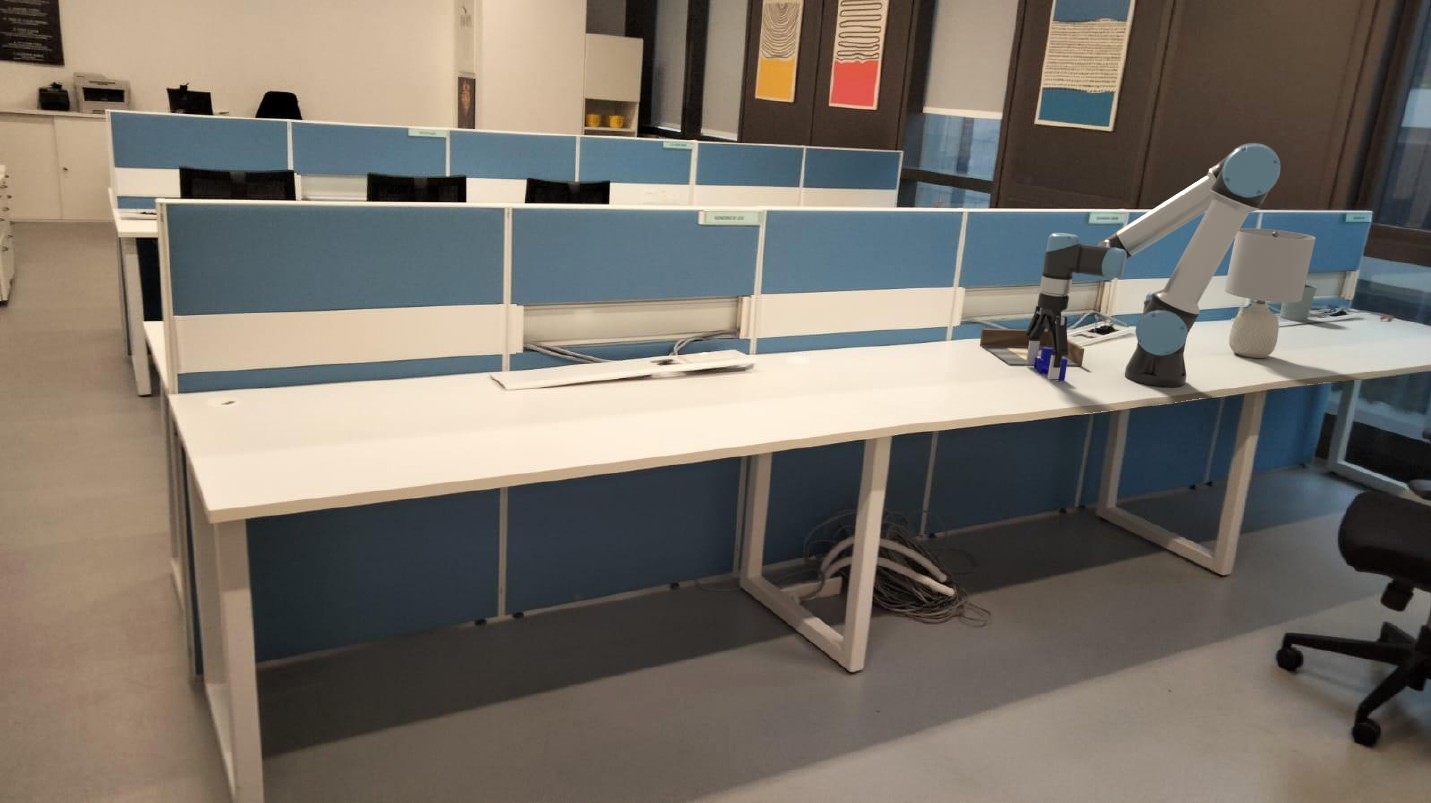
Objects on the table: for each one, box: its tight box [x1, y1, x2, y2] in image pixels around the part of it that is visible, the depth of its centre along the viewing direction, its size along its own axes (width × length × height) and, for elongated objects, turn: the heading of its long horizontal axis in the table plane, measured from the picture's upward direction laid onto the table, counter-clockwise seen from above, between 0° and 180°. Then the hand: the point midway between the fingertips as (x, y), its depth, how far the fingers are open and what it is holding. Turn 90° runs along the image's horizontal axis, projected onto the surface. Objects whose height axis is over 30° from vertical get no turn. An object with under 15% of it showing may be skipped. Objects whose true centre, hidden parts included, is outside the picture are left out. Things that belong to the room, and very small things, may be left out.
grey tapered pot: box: [1279, 283, 1318, 322], centre depth 365 cm, size 10×10×12 cm
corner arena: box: [979, 328, 1085, 367], centre depth 296 cm, size 21×21×5 cm
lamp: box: [1224, 227, 1316, 359], centre depth 305 cm, size 20×20×37 cm
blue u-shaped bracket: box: [1033, 347, 1068, 382], centre depth 277 cm, size 12×4×6 cm, turn 1°
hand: (1041, 371), depth 278 cm, fingers open, 13 cm apart
